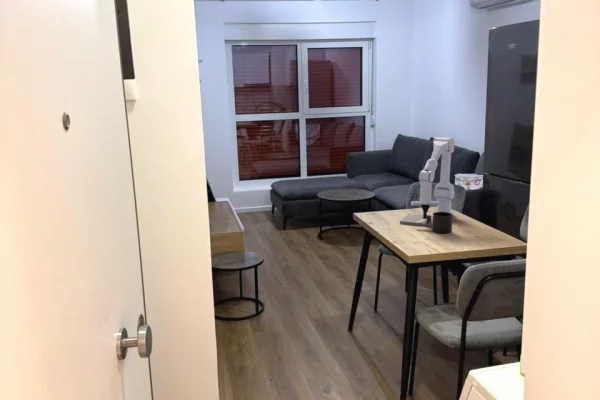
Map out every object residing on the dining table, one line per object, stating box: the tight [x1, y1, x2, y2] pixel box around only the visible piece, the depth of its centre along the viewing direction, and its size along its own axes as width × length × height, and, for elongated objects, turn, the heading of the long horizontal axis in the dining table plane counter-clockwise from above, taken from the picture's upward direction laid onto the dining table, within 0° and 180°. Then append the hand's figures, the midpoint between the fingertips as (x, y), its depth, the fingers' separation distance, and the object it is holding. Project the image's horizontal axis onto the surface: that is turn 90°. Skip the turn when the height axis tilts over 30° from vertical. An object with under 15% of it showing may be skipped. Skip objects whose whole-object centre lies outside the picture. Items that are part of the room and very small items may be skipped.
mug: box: [431, 211, 453, 235], centre depth 270 cm, size 9×12×9 cm
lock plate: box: [399, 213, 433, 228], centre depth 290 cm, size 18×22×2 cm
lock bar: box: [426, 210, 432, 222], centre depth 286 cm, size 12×3×3 cm, turn 170°
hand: (424, 218), depth 285 cm, fingers closed, pressing on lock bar
